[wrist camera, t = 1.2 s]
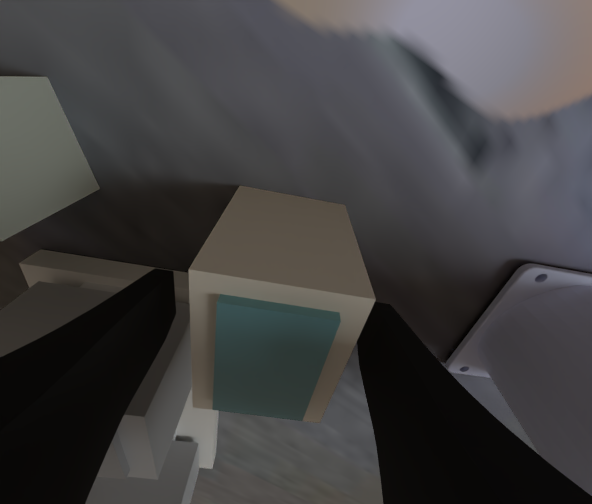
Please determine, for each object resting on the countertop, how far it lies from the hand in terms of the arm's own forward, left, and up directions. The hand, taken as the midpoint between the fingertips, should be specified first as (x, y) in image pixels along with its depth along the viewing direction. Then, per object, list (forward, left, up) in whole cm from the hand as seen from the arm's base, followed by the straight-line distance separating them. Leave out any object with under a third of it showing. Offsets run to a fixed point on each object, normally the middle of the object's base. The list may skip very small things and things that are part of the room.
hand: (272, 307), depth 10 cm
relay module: (0, 0, -4) cm, 4 cm away
